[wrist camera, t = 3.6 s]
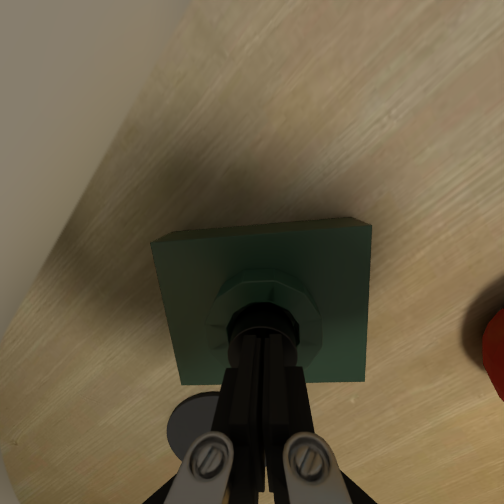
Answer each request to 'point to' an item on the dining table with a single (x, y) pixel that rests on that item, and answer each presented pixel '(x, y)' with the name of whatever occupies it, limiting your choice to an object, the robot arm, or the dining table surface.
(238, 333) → the black push button
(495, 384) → the fruit
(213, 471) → the robot arm
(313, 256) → the green square nut
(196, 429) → the coaster
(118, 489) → the dining table surface
